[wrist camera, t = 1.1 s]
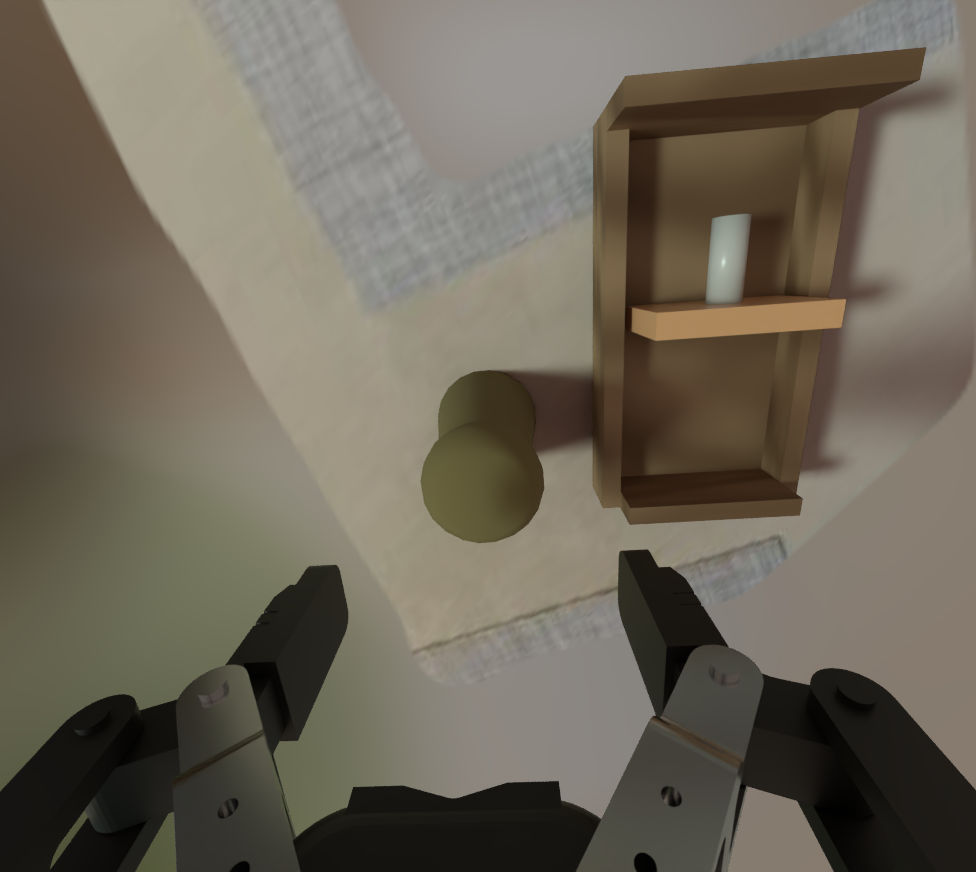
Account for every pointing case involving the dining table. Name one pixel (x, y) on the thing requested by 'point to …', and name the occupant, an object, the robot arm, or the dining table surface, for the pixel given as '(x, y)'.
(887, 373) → the dining table surface
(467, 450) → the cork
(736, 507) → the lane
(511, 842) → the robot arm
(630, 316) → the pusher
